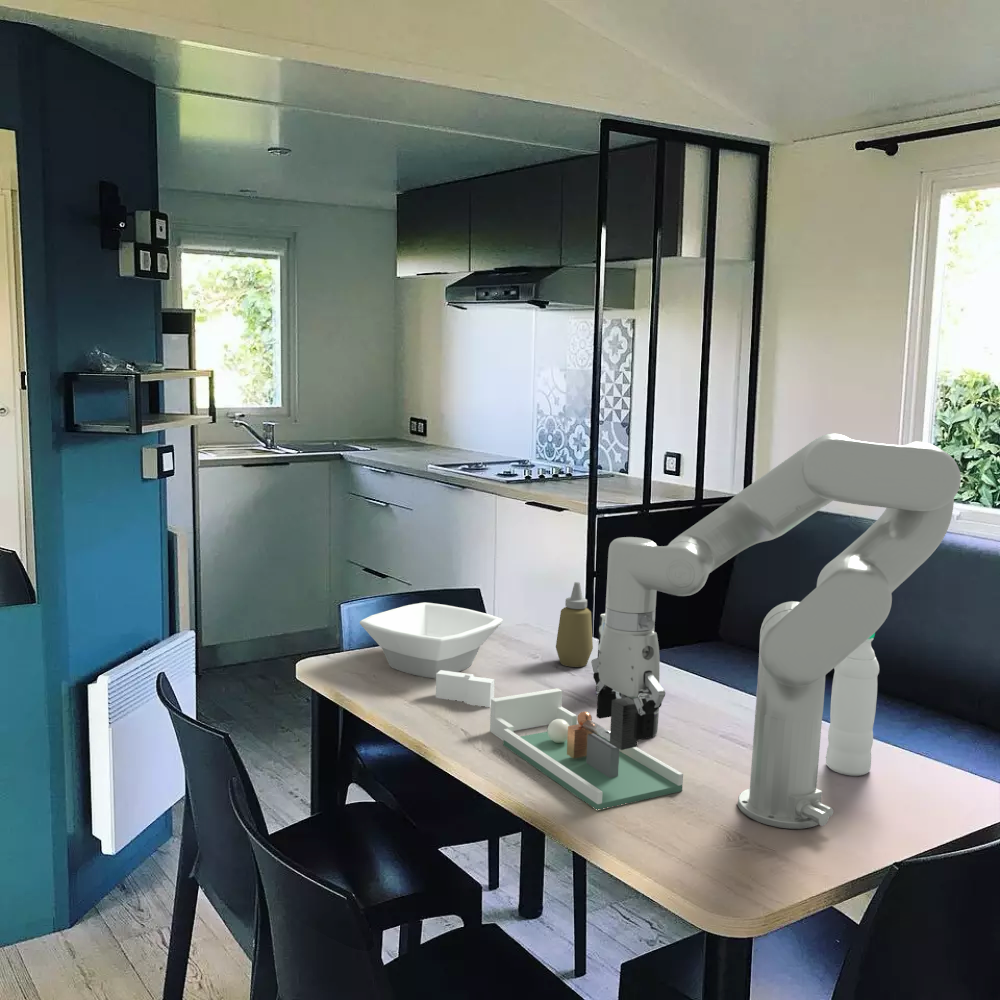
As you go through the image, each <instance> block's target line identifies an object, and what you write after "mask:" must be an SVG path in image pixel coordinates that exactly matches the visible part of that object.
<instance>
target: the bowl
mask: <svg viewBox="0 0 1000 1000" xmlns="http://www.w3.org/2000/svg"><path fill="white" fill-rule="evenodd" d="M503 622H504V619H503V618H501V617H499V616H498V617H497V616H496V615H492V614H489V613H485V612H481V611H478V610H474V609H469V608H464V607H460V606H459V607H458V606H454V605H448V604H440V603H433V602H419V603H412V604H408V605H403V606H400V607H397V608H396V607H395V608H392V609H389V610H385V611H381V612H378V613H375V614H371V615H369V616H368V617H365V618H363V619H361V620H360V621H359V625H360V626H361V627H362V628H363V629H364V630H365V632H366V633H368V634H369V636H370V637H371V638H372V639H373V640H374V641H375V642H376V643H377V645H378V646H379V647H380V648H381V649H382V652H383V654H384V656H385V658H386V661H387V663H388V666H389V667H390V668H392V669H394V670H397V671H399V672H402V673H406V674H409V675H413V676H418V677H421V678H422V677H423V678H426V679H427V678H428V679H434V680H436V673H438V672H439V671H440V670H444V671H451V672H459V673H460V672H461V671H464V670H467V669H468V668H469V667H471V666H472V665H473V662H474V661H475V658H476V656H477V654H478V652H479V650H480V648H481V646H483V645H484V644H485V642H487V640H488V639H490V637H491V635H492V634H493V633H494V632H495V631H496V630H497V629H498V628H499V626H501V624H503Z"/></svg>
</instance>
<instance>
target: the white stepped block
mask: <svg viewBox="0 0 1000 1000" xmlns="http://www.w3.org/2000/svg"><path fill="white" fill-rule="evenodd" d="M495 684H496V683H495V678H488V677H479V676H475V674H472V673H465V672H464V673H463V672H460V671H459V672H451V671H444V670H440V671H439V672H438V673H436V679H435V699H443V700H448V699H449V701H455V700H457V702H462V701H464V702H463V703H464V704H466V703H467V704H466V705H468V704H470V706H475V705H478V706H477V707H481V706H485V707H484V708H488V707H490V708H491V699H493V698H495Z"/></svg>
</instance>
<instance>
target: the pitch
mask: <svg viewBox="0 0 1000 1000" xmlns="http://www.w3.org/2000/svg"><path fill="white" fill-rule="evenodd" d="M562 705H563V690H561V689H560V688H557V687H556V688H550V689H545V690H539V691H538V690H537V691H533V692H526V693H520V694H514V695H513V694H512V695H507V696H501V697H494V698H493V699H491V707H490V713H489V715H490V717H489V718H490V719H489V720H490V721H489V722H490V723H489V724H490V725H489V732H490V733H492V734H493V735H494V736H496V737H497V738H499V739H500V740H501V741H503V743H502V744H503V745H502V746H504V747H505V748H507V749H508V750H509V751H511V752H513V753H514V754H515V755H517V756H518V757H520V758H521V759H522V760H524V761H525V762H527V763H529V764H530V765H531V766H533V768H535V769H536V770H538V771H540V772H541V773H542V774H544V775H545V776H547V777H548V778H550V779H551V780H552V781H554V782H555V783H557V784H559V785H560V786H561V787H562V788H564V789H566V790H567V791H569V792H570V793H571V794H572V795H574V796H575V795H576V796H575V797H577V798H578V797H579V798H578V799H580V800H581V799H582V800H581V801H583V802H584V801H585V802H586V803H585V802H584V803H585V804H587V803H588V804H589V805H588V804H587V805H588V806H590V805H591V806H592V807H591V806H590V807H591V808H593V807H594V808H595V809H597V810H598V809H602V810H604V809H603V808H607V807H611V808H613V807H612V806H615V807H618V806H617V805H620V806H622V805H621V804H624V805H626V804H625V803H628V804H632V803H631V802H633V803H636V802H635V801H637V802H641V801H644V799H645V800H649V798H650V799H654V798H658V797H662V796H663V797H664V796H666V795H671V794H675V793H680V792H682V791H683V785H684V784H683V781H684V773H683V772H681V771H679V770H678V769H676V768H674V767H672V766H670V765H668V764H667V763H665V762H663V761H662V760H660V759H658V758H656V757H654V756H652V755H651V754H649V753H648V752H646V751H644V750H642V749H640V748H639V747H638V746H637V747H634V748H629V749H624V750H620V749H619V748H617V747H615V746H614V745H612V744H610V743H609V742H607V741H605V740H604V739H602V738H600V737H599V736H597V735H595V734H589V735H588V737H587V756H584V757H579V758H574V759H573V758H572V757H570V756H569V755H567V740H566V741H565V742H563V743H556V742H554V741H552V740H551V739H550V738H549V736H548V732H547V731H542V732H538V733H532V734H527V735H526V734H525V735H521V736H519V735H518V734H517V733H515V732H516V731H520V730H525V729H531V728H537V727H542V726H547V725H548V726H549V724H550V723H551V722H552V721H553V720H555V719H563V720H565V721H566V722H567V723H568V724H569V725H570V726H572V725H577V724H579V723H578V721H577V716H578V714H575V713H574V712H572V711H570V710H568V709H567V708H565V707H563V706H562ZM514 731H515V732H514ZM657 796H658V797H657ZM640 800H641V801H640ZM594 808H593V809H594ZM595 809H594V810H595ZM607 809H608V808H607ZM597 810H596V811H597ZM598 811H599V810H598Z"/></svg>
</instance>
